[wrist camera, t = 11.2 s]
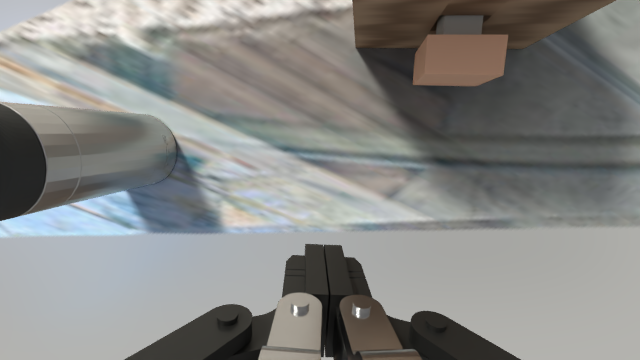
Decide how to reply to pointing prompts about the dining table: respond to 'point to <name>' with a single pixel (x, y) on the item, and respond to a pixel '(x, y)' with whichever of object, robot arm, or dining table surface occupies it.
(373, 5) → the box
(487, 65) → the pinkish brown block
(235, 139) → the dining table surface
